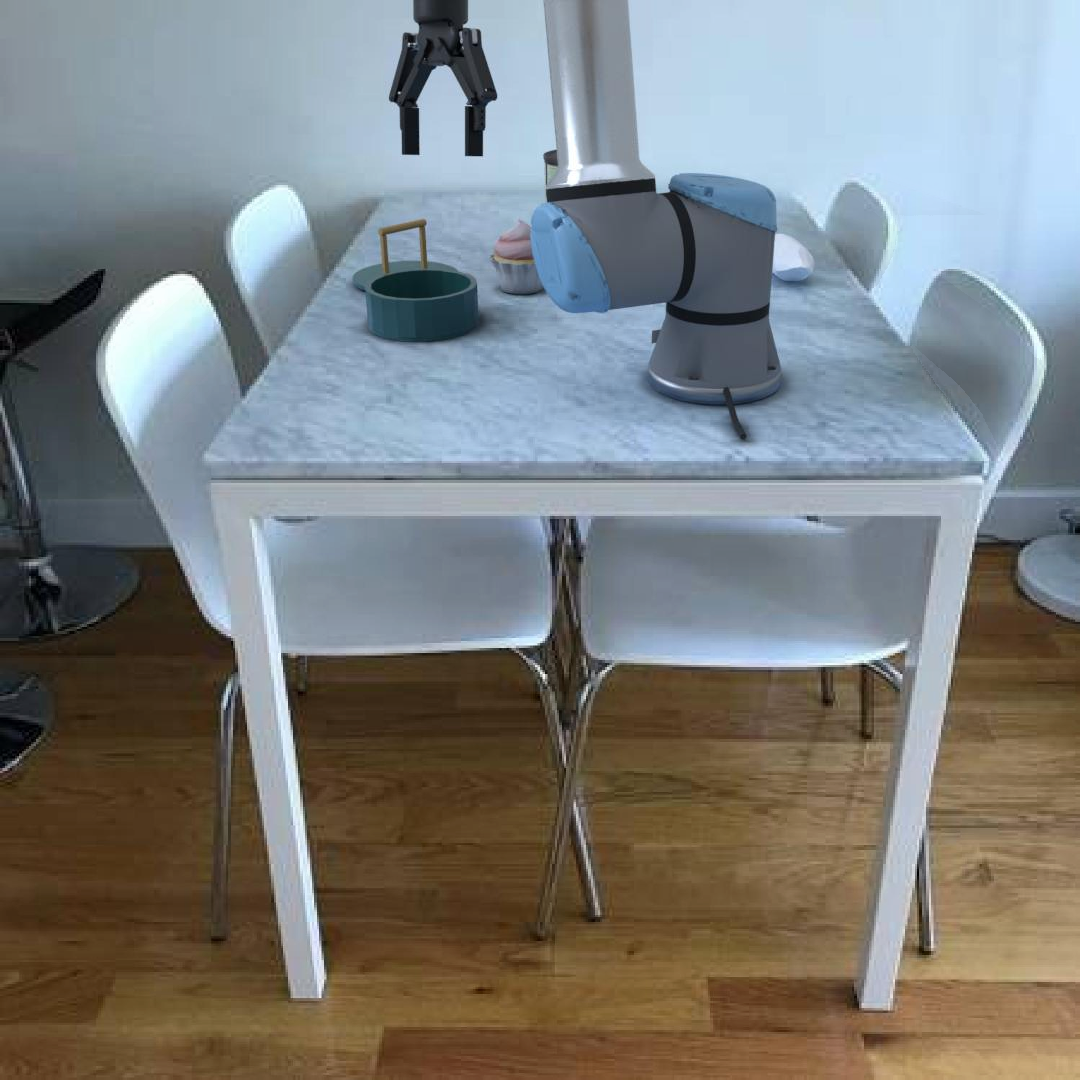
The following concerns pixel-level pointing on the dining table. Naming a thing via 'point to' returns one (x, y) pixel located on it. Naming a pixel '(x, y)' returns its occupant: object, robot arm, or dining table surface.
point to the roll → (791, 259)
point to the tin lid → (387, 267)
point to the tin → (422, 304)
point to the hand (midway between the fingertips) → (441, 156)
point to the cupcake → (516, 261)
